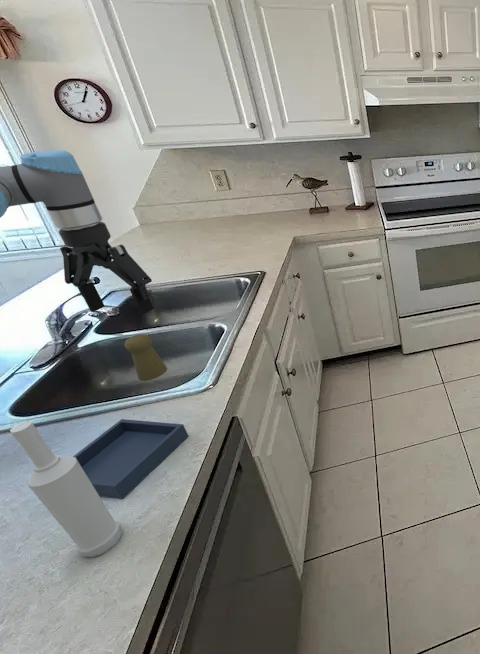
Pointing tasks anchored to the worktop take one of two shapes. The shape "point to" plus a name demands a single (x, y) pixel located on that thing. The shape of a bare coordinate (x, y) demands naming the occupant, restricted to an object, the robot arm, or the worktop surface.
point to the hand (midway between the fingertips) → (122, 310)
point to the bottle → (68, 494)
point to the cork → (145, 357)
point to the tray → (128, 454)
